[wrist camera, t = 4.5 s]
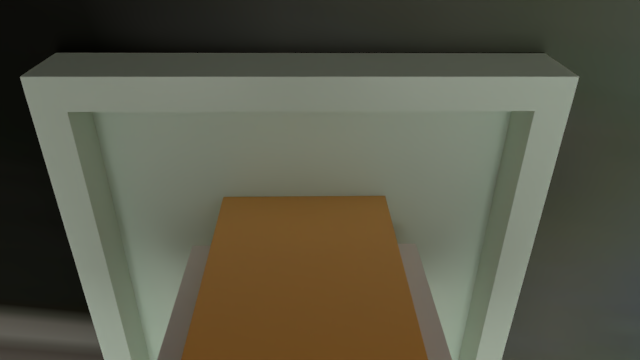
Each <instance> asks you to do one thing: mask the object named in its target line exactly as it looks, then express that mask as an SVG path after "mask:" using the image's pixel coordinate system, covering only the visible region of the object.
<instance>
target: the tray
mask: <svg viewBox="0 0 640 360" xmlns="http://www.w3.org/2000/svg"><path fill="white" fill-rule="evenodd" d="M20 79H21V83H22V86H23V89H24V93H25V96H26V100H27V103H28V106H29V110H30V113H31V116H32V120H33V123H34V126H35V130H36V133H37V136H38V140H39V143H40V146H41V150H42V153H43V157H44V160H45V163H46V167H47V170H48V173H49V177H50V180H51V183H52V187H53V190H54V193H55V197H56V200H57V203H58V207H59V210H60V214H61V217H62V220H63V224H64V227H65V230H66V234H67V237H68V240H69V244H70V247H71V250H72V254H73V257H74V261H75V264H76V267H77V271H78V274H79V277H80V281H81V284H82V287H83V291H84V294H85V297H86V301H87V304H88V307H89V311H90V314H91V318H92V321H93V324H94V328H95V331H96V334H97V338H98V341H99V344H100V348H101V351H102V354H103V358H104V360H157V358H158V355H159V352H160V349H161V346H162V342H163V339H164V336H165V333H166V329H167V326H168V323H169V320H170V317H171V313H172V310H173V307H174V304H175V301H176V297H177V294H178V291H179V288H180V284H181V281H182V278H183V275H184V272H185V268H186V265H187V262H188V259H189V255H190V252H191V249H192V246H211V243H212V239H213V235H214V231H215V227H216V223H217V220H218V216H219V212H220V208H221V204H222V200H223V197H281V196H385V197H386V201H387V205H388V209H389V212H390V216H391V220H392V224H393V228H394V231H395V235H396V239H397V243H398V244H416V246H417V249H418V252H419V255H420V259H421V262H422V265H423V268H424V271H425V275H426V278H427V281H428V284H429V287H430V291H431V294H432V297H433V300H434V303H435V307H436V310H437V313H438V316H439V319H440V323H441V326H442V329H443V332H444V335H445V339H446V342H447V345H448V348H449V351H450V355H451V358H452V360H502V356H503V353H504V349H505V345H506V342H507V338H508V334H509V331H510V327H511V323H512V320H513V316H514V312H515V309H516V305H517V302H518V298H519V294H520V291H521V287H522V283H523V280H524V276H525V272H526V269H527V265H528V261H529V258H530V254H531V250H532V247H533V243H534V240H535V236H536V232H537V229H538V225H539V221H540V218H541V214H542V210H543V207H544V203H545V199H546V196H547V192H548V189H549V185H550V181H551V178H552V174H553V170H554V167H555V163H556V159H557V156H558V152H559V148H560V145H561V141H562V138H563V134H564V130H565V127H566V123H567V119H568V116H569V112H570V108H571V105H572V101H573V97H574V94H575V90H576V86H577V83H578V79H579V76H577V75H576V74H575V73H573V72H572V71H570V70H569V69H567V68H566V67H564V66H563V65H561V64H560V63H559V62H557V61H556V60H554V59H553V58H551V57H550V56H548V55H547V54H545V53H55V54H53V55H52V56H50V57H49V58H47V59H46V60H44V61H43V62H41V63H40V64H38V65H37V66H35V67H34V68H32V69H31V70H29V71H28V72H26V73H25V74H23V75H22V76H20Z"/></svg>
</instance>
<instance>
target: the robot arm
mask: <svg viewBox="0 0 640 360" xmlns="http://www.w3.org/2000/svg"><path fill="white" fill-rule="evenodd" d="M398 247H399V251H400V254H401V258H402V262H403V266H404V270H405V273H406V277H407V281H408V285H409V289H410V293H411V296H412V300H413V304H414V308H415V312H416V315H417V319H418V323H419V327H420V331H421V334H422V338H423V342H424V346H425V350H426V354H427V357H428V360H452V358H451V355H450V351H449V348H448V345H447V342H446V339H445V335H444V332H443V329H442V326H441V323H440V319H439V316H438V313H437V310H436V307H435V303H434V300H433V297H432V294H431V291H430V287H429V284H428V281H427V278H426V275H425V271H424V268H423V265H422V262H421V259H420V255H419V252H418V249H417V246H416V244H398ZM209 250H210V246H192V249H191V252H190V255H189V259H188V262H187V265H186V268H185V272H184V275H183V278H182V281H181V284H180V288H179V291H178V294H177V297H176V301H175V304H174V307H173V310H172V313H171V317H170V320H169V323H168V326H167V329H166V333H165V336H164V339H163V342H162V346H161V349H160V352H159V355H158V358H157V360H181V358H182V354H183V350H184V346H185V342H186V339H187V335H188V331H189V327H190V323H191V319H192V315H193V312H194V308H195V304H196V300H197V296H198V292H199V289H200V285H201V281H202V277H203V273H204V269H205V266H206V262H207V258H208V254H209Z"/></svg>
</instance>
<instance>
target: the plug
mask: <svg viewBox="0 0 640 360" xmlns="http://www.w3.org/2000/svg"><path fill="white" fill-rule="evenodd" d="M181 360H428V357H427V354H426V350H425V346H424V342H423V338H422V334H421V331H420V327H419V323H418V319H417V315H416V312H415V308H414V304H413V300H412V296H411V293H410V289H409V285H408V281H407V277H406V273H405V270H404V266H403V262H402V258H401V254H400V251H399V247H398V243H397V239H396V235H395V231H394V228H393V224H392V220H391V216H390V212H389V209H388V205H387V201H386V197H385V196H281V197H223V200H222V204H221V208H220V212H219V216H218V220H217V223H216V227H215V231H214V235H213V239H212V243H211V246H210V250H209V254H208V258H207V262H206V266H205V269H204V273H203V277H202V281H201V285H200V289H199V292H198V296H197V300H196V304H195V308H194V312H193V315H192V319H191V323H190V327H189V331H188V335H187V339H186V342H185V346H184V350H183V354H182V358H181Z"/></svg>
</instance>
